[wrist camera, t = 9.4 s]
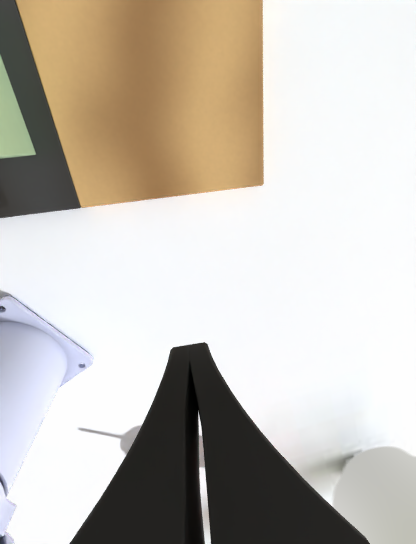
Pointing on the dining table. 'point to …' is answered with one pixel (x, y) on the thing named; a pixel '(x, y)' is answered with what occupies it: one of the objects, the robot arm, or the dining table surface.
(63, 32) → the board
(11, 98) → the sage block
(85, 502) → the dining table surface
